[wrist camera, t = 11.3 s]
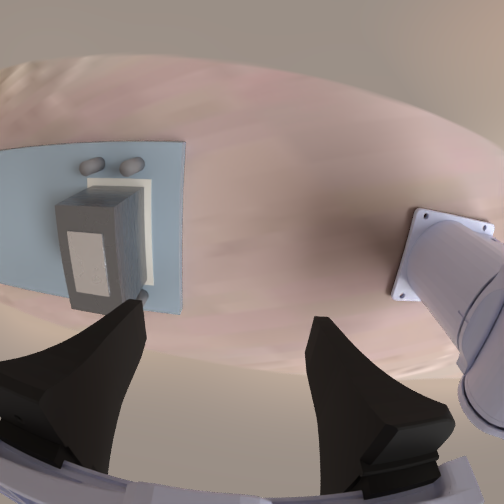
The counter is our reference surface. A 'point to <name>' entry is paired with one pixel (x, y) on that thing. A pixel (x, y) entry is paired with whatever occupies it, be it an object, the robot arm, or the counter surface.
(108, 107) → the counter surface
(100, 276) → the block
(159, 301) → the pin tray
